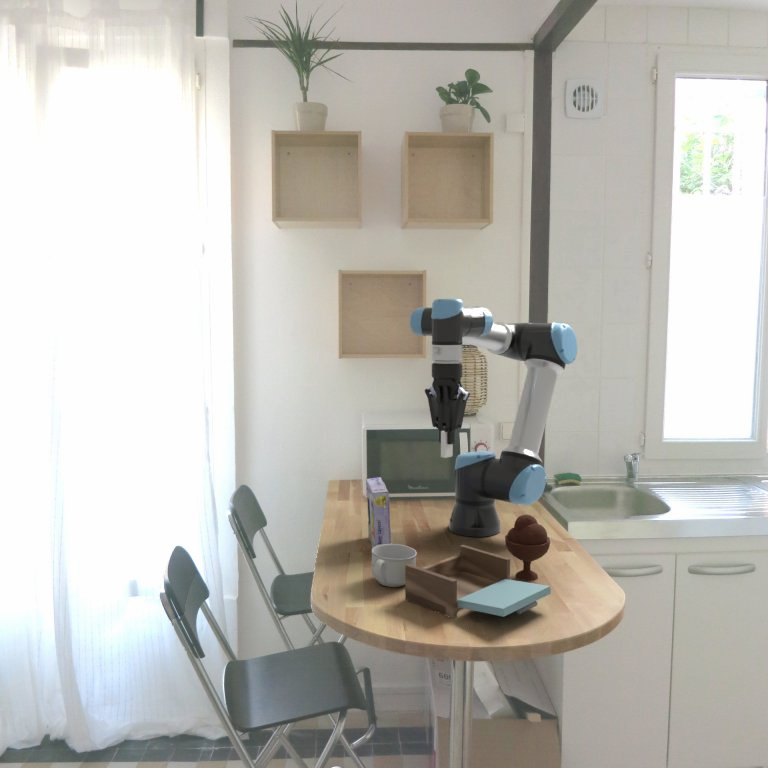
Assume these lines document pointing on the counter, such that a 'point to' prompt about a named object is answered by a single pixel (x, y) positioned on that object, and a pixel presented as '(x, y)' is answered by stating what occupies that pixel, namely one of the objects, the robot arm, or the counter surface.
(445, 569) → the drawer box
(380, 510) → the cake pan box
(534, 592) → the pale blue slab
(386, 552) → the teacup
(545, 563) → the counter surface
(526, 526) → the ice cream bowl
